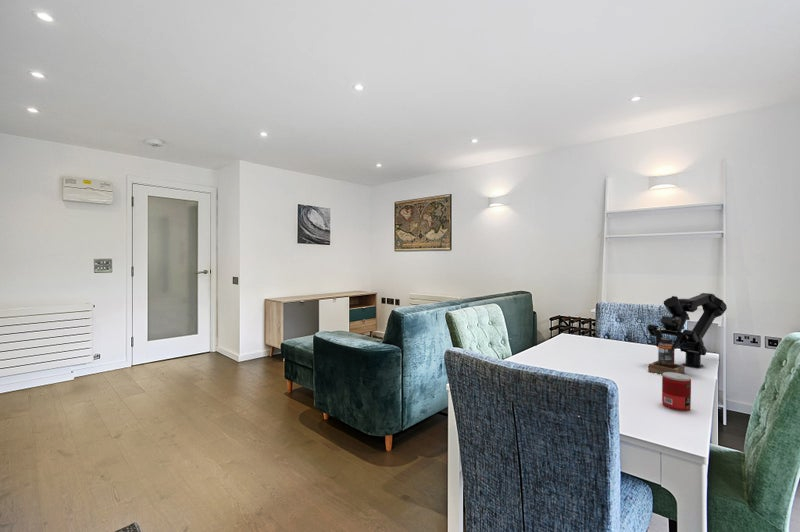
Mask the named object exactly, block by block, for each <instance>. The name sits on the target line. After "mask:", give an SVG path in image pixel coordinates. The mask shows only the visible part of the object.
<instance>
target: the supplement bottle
mask: <svg viewBox="0 0 800 532" xmlns="http://www.w3.org/2000/svg"><path fill="white" fill-rule="evenodd" d="M672 340H673V339H672V338H670V337H663V338H661V342H660V343H659V344H658V347H657V349H658V350H657V351H658V352H657V353H658V354H657V355H658V356H657V357H658V358H657V361H658V362H659V363H661V364H665V365H673V364H675V349H674V350H672V346H673V344H674V343H673V341H672Z"/></svg>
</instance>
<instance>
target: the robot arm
mask: <svg viewBox="0 0 800 532" xmlns="http://www.w3.org/2000/svg"><path fill="white" fill-rule="evenodd" d="M663 305H664V307H665V308H666V310H667V312H668V313H669V314H670V315H671V316H665V315H662V316H661V319H660V324H662V327H663V328H660V326H659V325H657V324H648V325H647V326H646V330H647V331H648V333H649V334H650V336H652V337H655V345H656V346H655V347H657V348H658V344H659V343H660V342H661V338H664V337H663V335H668V336H674V337H676V338H675V340H674V342H673V343H672V344H673V346H672V350H674V351H675V350H677V348H679V349H680V352H684V353H685V360H684V362H683V363H682V365H683V366H687V367H691V368H696V369H700V368H702V367H704V364H701V362H702V361H701V360H702V359H701V358H702V357H701V356H706V355H707V351H708V350H707V349H706V347H705V345H704V344H705V343H704V340H703V338H704V337H705V335H706V333H707V331H708V330H709V329H710V327H711V325H712V324H713V322H714V320H715V319H716V318H719V317H721V316H723V315H724V313H725V312H726V311H727V304H726V303H725V302H724V301H723V299H721V298H719V297H717V296H716V295H715V294H713V293H710V292H709V293H706V292H703V293H700V294H698V295H695V296H693V297H690V298H678V296H676V295H672V296H671V297H667V298H666V299H665V300H663ZM700 306H701V307H702V310H703V313H702V314H701V315H700V317H699V319H698V320H697V322H696V324H695V325H694V326H693V328H692V330H691V329H686V328H685V325H686V323H687V321H690V317H689V313H695V311H697V310H698V308H699V307H700Z"/></svg>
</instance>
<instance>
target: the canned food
mask: <svg viewBox="0 0 800 532" xmlns="http://www.w3.org/2000/svg"><path fill="white" fill-rule="evenodd" d="M661 376H662V378H661V380H662V381H661V382H662V383H661V392H662V393H661V402H662V405H663V406H664V407H666V408H668V409H670V410H673V411H681V412H687V411H689V410H690V409H691V404H692V378H691V376H689V375H687V374H680V373H674V372H665V373H663V375H661Z"/></svg>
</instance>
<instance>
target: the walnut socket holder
mask: <svg viewBox="0 0 800 532" xmlns="http://www.w3.org/2000/svg"><path fill="white" fill-rule="evenodd" d="M647 364H648V367H647V368H648V370H647V371H648V373H651V372H652V373H651V374H655V373H657V375H660V374H661V375H660V376H662V375H663V373H665V372H674V373H680V374H684V375H686V374H685V373H686V372H685V371H686V370H685V365H683V364H682V365H681V364H678V363H674V364H673V365H665V364H661V363H659V362H658V360H656V361H653V362H652V363H647Z"/></svg>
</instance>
